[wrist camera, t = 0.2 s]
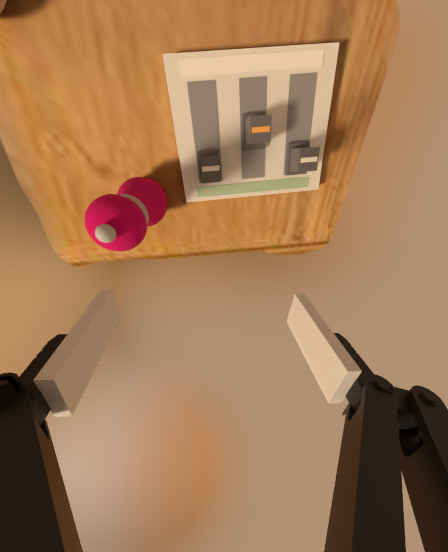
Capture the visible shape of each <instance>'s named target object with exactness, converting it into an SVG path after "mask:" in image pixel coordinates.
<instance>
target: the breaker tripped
mask: <svg viewBox="0 0 448 552" xmlns="http://www.w3.org/2000/svg"><path fill="white" fill-rule="evenodd" d="M271 121H272V114H270V115H266V112H264V113H251V114H243V115H242V124H243V151H245V150H257V149H265V143H269V142H271Z"/></svg>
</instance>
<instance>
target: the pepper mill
mask: <svg viewBox="0 0 448 552" xmlns="http://www.w3.org/2000/svg"><path fill="white" fill-rule="evenodd" d="M166 209H167V195H166V192H165V190H164V189H163V187H162V186H161V185H160V184H159V183H158V182H156V181H155V180H152V179H149V178H143V177H135V178H131V179H129V180H127V181H126V182H124V183H123V184H122V185H121V187H120V188H119V190H118V193H117V195H115V194H108V195H103V196H101V197H99V198H97V199H95V200H94V201H93V202H92V203H91V204H90V205H89V207H88V208H87V211H86V213H85V225H86V229H87V231H88V233H89V235H90V236H91V238H92V239H93V240H94V241H95V242H96V243H97V244H99V245H100V246H102V247H104V248H106V249H109V250H113V251H126V250H130V249H132V248H134V247H136V246H137V245H138V244H140V243H141V242H142V240H143V239H144V237H145V234H146V231H147V226H152V225H155V224H156V223H158V222H159V221H160V220H161V219H162V218H163V217H164V215H165V213H166Z"/></svg>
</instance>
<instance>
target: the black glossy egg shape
mask: <svg viewBox="0 0 448 552" xmlns="http://www.w3.org/2000/svg"><path fill="white" fill-rule="evenodd" d="M5 4H6V0H0V13H1V12H2V10H3V9H4V6H5Z"/></svg>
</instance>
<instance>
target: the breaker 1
mask: <svg viewBox="0 0 448 552" xmlns="http://www.w3.org/2000/svg"><path fill="white" fill-rule="evenodd" d="M198 160H199V168H200V177H201V184H202V183H213V182H221V179H222V178H221V164H220V155H219V150H210V151H198Z"/></svg>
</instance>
